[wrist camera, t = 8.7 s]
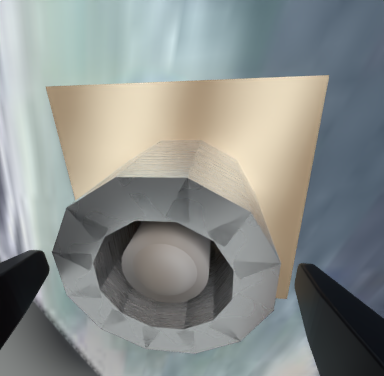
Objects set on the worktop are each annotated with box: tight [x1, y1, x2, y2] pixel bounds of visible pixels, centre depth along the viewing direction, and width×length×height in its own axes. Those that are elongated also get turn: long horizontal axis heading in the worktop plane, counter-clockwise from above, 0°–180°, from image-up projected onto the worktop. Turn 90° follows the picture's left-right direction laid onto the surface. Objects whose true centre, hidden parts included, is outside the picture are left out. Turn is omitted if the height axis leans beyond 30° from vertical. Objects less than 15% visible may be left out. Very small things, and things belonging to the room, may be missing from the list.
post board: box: [46, 75, 329, 303], centre depth 10 cm, size 12×12×6 cm
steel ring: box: [52, 140, 281, 354], centre depth 9 cm, size 7×7×5 cm
